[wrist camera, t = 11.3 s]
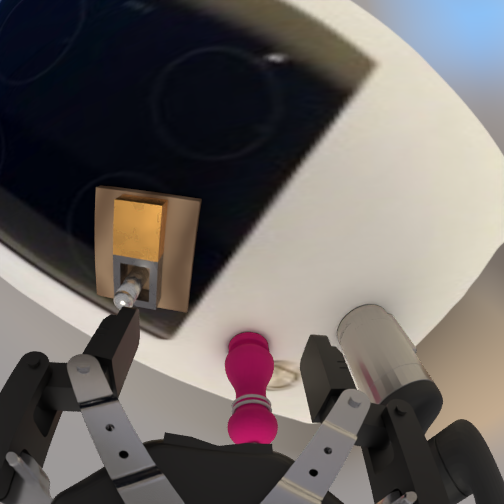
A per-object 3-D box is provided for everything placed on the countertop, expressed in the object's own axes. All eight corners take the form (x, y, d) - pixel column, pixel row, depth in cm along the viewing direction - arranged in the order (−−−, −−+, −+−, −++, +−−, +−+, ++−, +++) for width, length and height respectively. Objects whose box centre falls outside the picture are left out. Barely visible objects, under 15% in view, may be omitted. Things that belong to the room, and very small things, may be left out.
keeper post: (149, 266, 38) (130, 298, 31) (148, 282, 39) (130, 316, 32) (132, 263, 38) (110, 294, 30) (131, 279, 39) (111, 312, 31)
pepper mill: (225, 361, 47) (221, 467, 29) (226, 327, 44) (221, 439, 26) (268, 363, 48) (281, 467, 29) (273, 329, 45) (291, 439, 26)
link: (168, 200, 35) (162, 205, 32) (160, 298, 40) (156, 309, 38) (123, 194, 35) (114, 199, 32) (121, 290, 40) (114, 301, 37)
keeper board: (201, 199, 37) (200, 201, 35) (188, 306, 43) (187, 312, 41) (100, 185, 35) (96, 187, 34) (100, 289, 41) (97, 294, 40)
